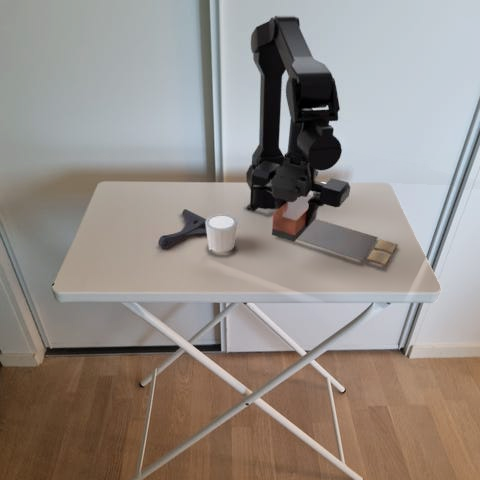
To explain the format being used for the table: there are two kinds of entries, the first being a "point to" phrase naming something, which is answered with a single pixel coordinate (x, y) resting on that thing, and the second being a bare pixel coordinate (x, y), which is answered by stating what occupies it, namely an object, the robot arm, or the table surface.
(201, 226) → the bracket
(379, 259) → the cork bit
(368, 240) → the board
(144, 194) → the table surface
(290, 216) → the reddish orange block
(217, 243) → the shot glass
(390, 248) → the cork bit
